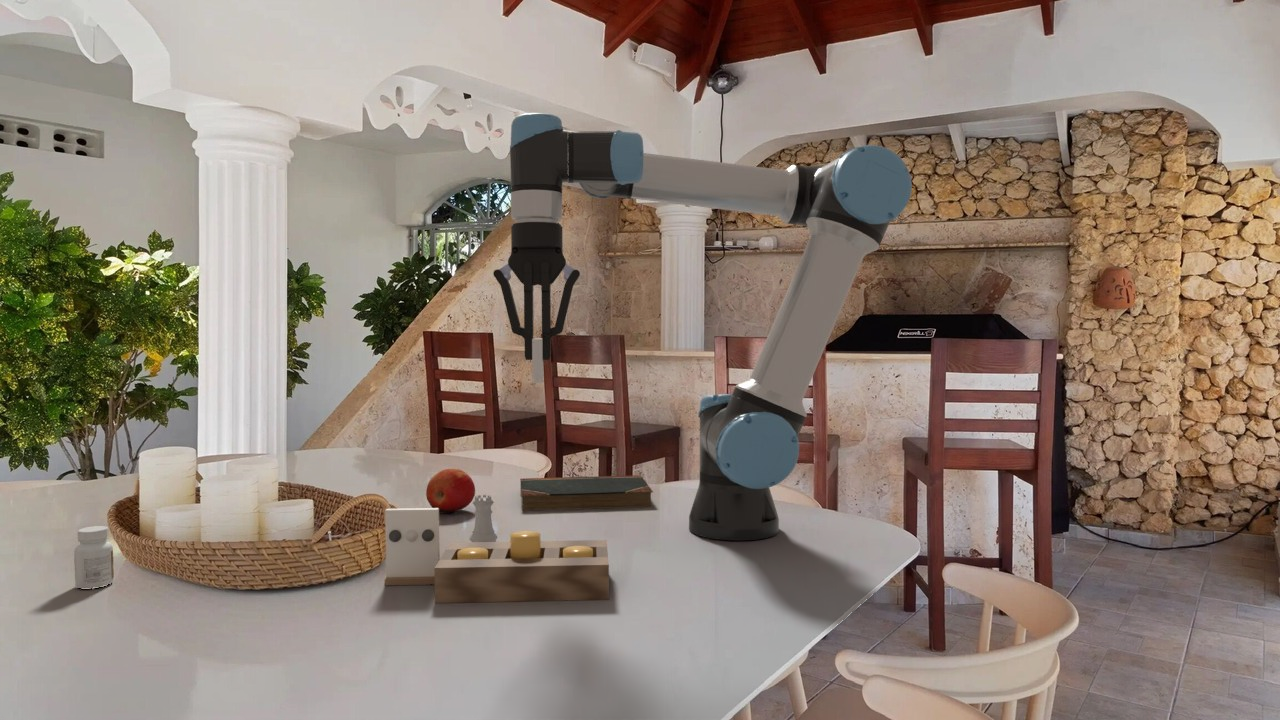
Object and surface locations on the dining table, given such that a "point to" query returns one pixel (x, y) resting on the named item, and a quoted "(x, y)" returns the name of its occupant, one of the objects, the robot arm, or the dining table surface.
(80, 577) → the pill bottle
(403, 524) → the card
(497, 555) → the board
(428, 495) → the apple
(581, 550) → the button
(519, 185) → the robot arm
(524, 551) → the button middle
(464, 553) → the button
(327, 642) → the dining table surface
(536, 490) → the book
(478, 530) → the rook chess piece
